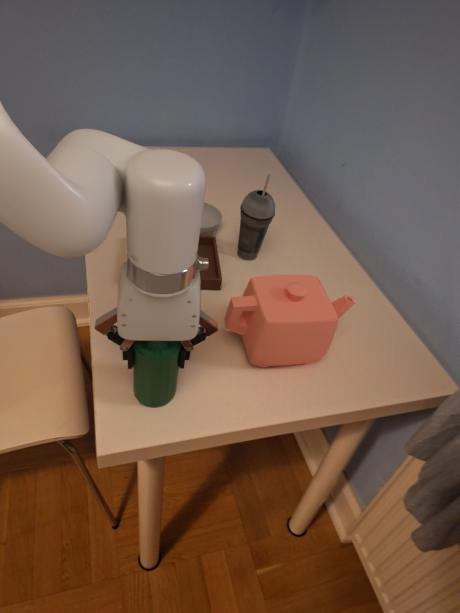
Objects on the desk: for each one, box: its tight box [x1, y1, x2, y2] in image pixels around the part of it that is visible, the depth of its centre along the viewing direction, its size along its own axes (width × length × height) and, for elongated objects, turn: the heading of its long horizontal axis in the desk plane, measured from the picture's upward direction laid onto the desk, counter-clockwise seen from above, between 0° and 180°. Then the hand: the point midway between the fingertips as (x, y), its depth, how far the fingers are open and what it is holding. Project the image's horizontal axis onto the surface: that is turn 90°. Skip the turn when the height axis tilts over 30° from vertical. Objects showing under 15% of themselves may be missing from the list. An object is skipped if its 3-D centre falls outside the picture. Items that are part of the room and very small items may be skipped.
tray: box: [197, 235, 223, 291], centre depth 83 cm, size 17×14×3 cm
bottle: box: [132, 340, 181, 408], centre depth 58 cm, size 6×6×16 cm
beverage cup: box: [236, 174, 276, 261], centre depth 84 cm, size 7×7×20 cm
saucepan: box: [200, 201, 223, 236], centre depth 96 cm, size 11×18×4 cm, turn 13°
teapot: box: [223, 274, 356, 369], centre depth 69 cm, size 22×13×14 cm, turn 101°
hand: (156, 360), depth 58 cm, fingers closed on bottle, 6 cm apart
